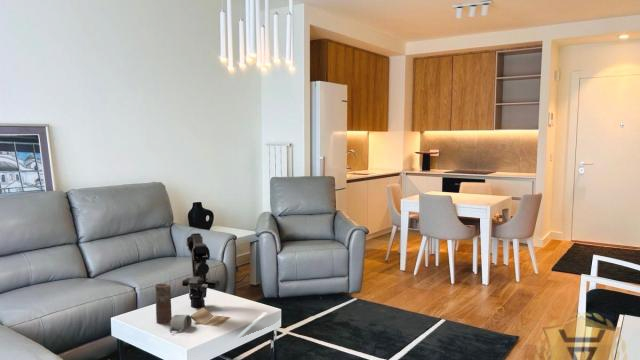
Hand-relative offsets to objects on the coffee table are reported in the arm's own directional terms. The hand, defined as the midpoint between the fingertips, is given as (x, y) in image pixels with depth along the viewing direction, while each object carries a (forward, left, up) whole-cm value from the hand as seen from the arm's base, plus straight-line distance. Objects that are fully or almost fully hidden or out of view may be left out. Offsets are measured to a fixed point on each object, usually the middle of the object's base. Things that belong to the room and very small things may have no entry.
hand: (201, 299), depth 244 cm
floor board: (+11, -3, -10) cm, 15 cm away
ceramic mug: (-2, -17, -10) cm, 20 cm away
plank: (+2, -3, -8) cm, 9 cm away
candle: (-15, -11, -10) cm, 21 cm away
